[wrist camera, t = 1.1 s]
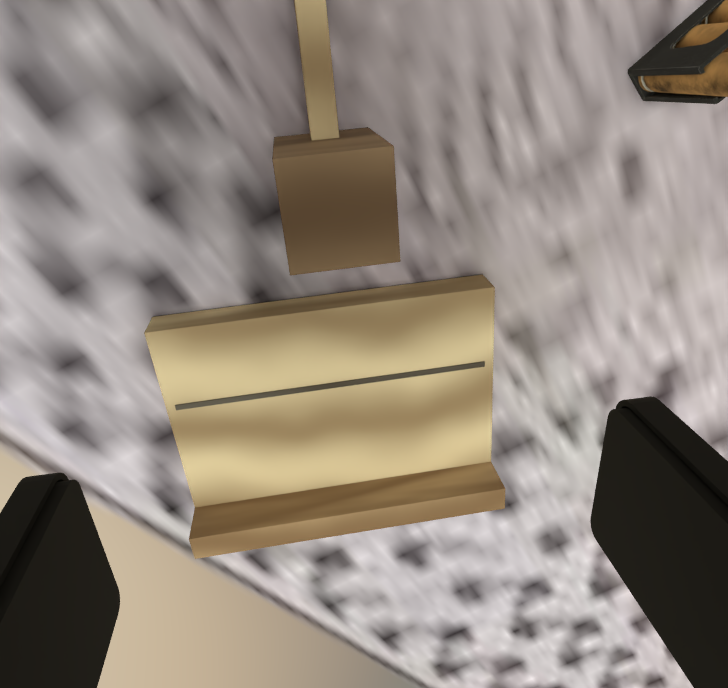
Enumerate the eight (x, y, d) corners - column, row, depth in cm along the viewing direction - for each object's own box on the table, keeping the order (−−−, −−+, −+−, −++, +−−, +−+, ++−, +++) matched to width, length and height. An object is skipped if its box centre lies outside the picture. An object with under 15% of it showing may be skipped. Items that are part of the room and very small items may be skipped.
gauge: (248, -39, 24) (236, -76, 17) (354, -48, 24) (380, -87, 18) (288, 229, 29) (290, 275, 23) (375, 219, 29) (400, 261, 23)
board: (152, 316, 30) (132, 355, 26) (482, 274, 31) (511, 305, 27) (204, 503, 36) (195, 558, 32) (480, 460, 37) (504, 508, 33)
